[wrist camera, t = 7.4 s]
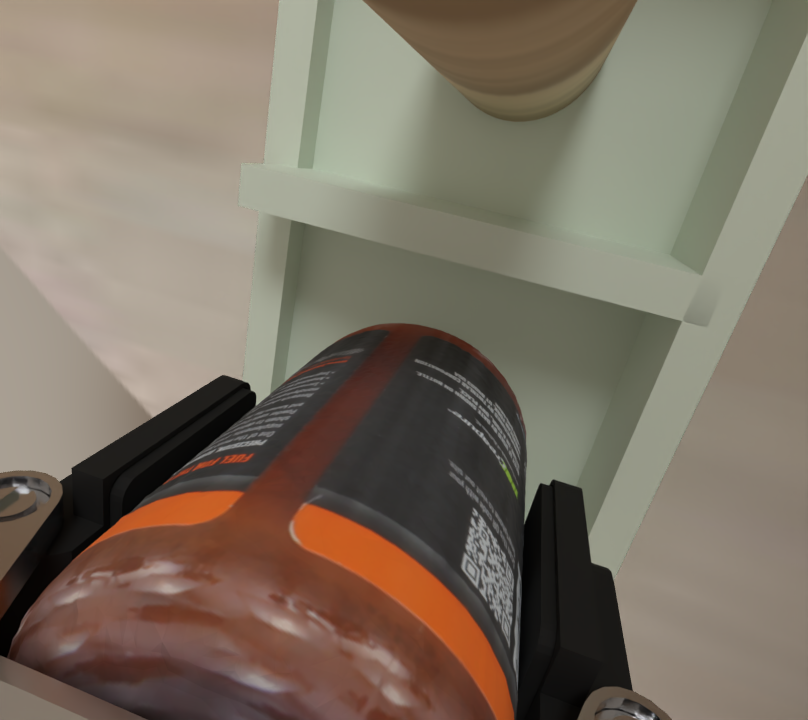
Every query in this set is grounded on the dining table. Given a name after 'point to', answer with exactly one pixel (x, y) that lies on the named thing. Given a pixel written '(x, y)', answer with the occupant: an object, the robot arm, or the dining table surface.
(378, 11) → the beige rounded cylinder
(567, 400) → the rack
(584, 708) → the robot arm
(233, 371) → the dining table surface
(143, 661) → the supplement bottle
